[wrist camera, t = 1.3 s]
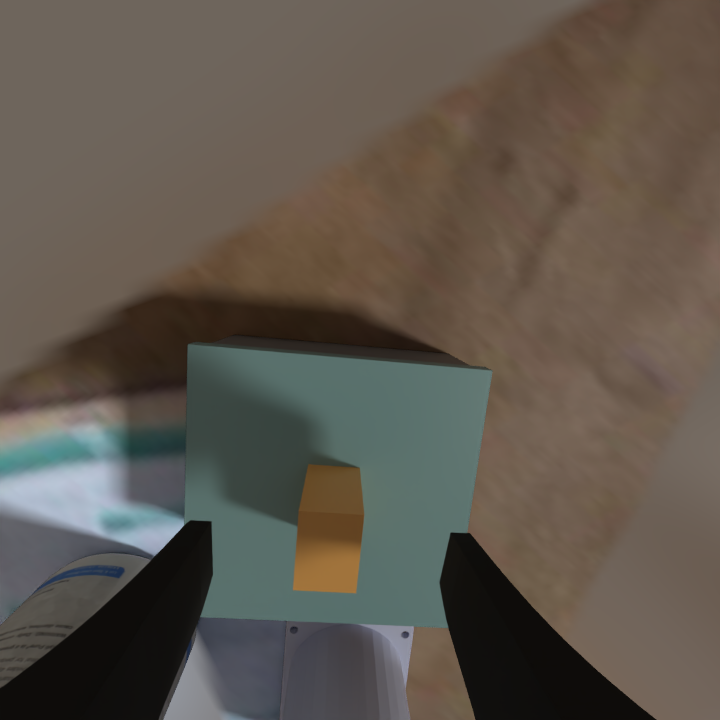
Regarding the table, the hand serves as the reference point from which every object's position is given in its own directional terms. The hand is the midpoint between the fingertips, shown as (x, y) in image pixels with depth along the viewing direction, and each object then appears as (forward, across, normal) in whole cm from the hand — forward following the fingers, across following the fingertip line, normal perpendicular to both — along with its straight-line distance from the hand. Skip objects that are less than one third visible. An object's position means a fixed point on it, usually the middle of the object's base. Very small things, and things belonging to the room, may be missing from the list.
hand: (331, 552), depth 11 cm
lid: (+6, 0, +2) cm, 7 cm away
